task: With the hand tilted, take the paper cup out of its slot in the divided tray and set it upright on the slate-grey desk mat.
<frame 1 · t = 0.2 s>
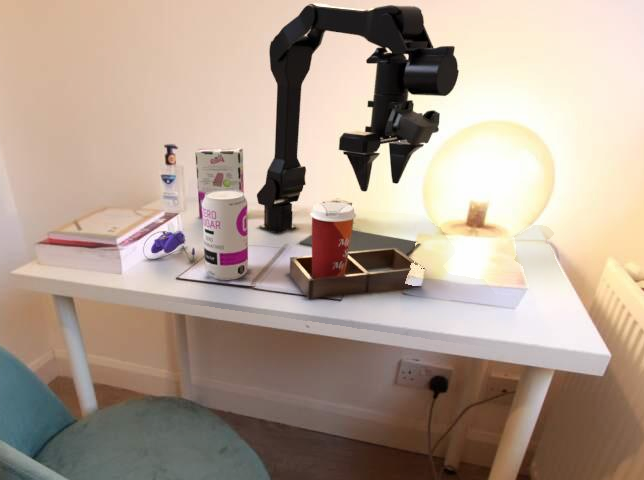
hand: (380, 187, 92), 15 cm above the table, tool pointing down, fingers open, 9 cm apart
paper cup: (327, 284, 90), resting in divided tray
supplement can: (226, 273, 95), on the table
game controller: (175, 257, 103), on the table
desk mat: (359, 243, 108), on the table
candy bar box: (221, 217, 128), on the table
dice cube: (335, 223, 122), on the table
divided tray: (353, 280, 91), on the table
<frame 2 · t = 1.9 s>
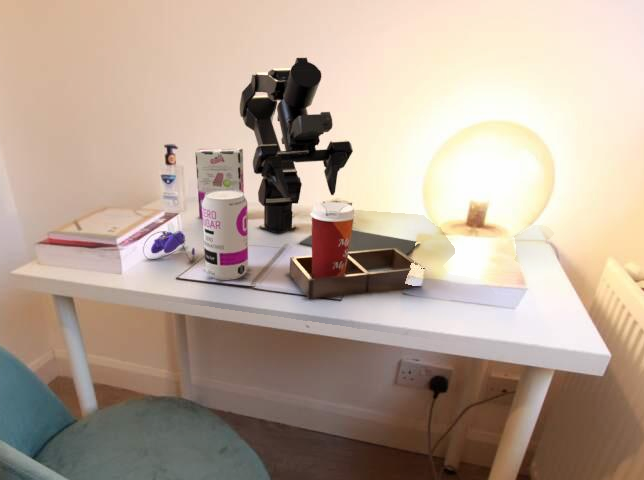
hand: (310, 195, 94), 13 cm above the table, tool tilted 45°, fingers open, 9 cm apart
nothing on the table moved.
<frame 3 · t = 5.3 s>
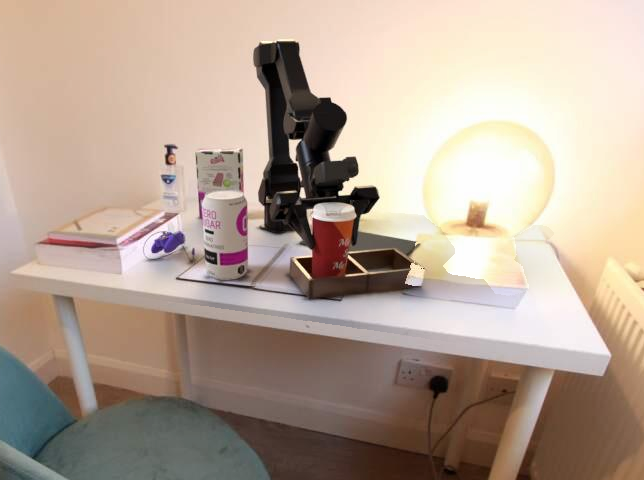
hand: (333, 246, 85), 7 cm above the table, tool tilted 45°, fingers closed on paper cup, 7 cm apart
paper cup: (327, 284, 90), resting in divided tray, touching gripper
everything else where it was.
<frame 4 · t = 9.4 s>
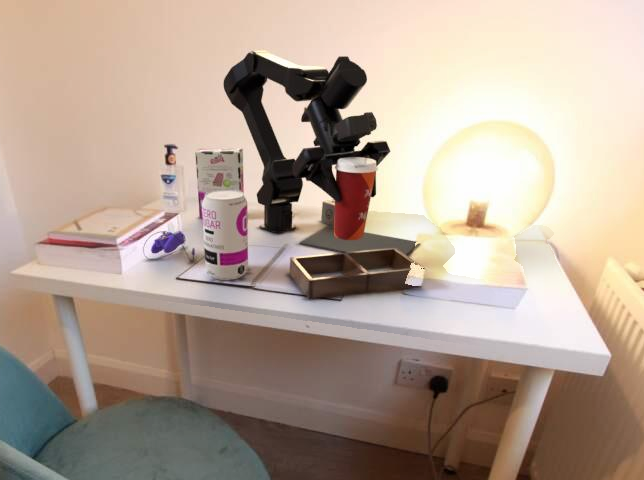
hand: (357, 198, 91), 13 cm above the table, tool tilted 45°, fingers closed on paper cup, 7 cm apart
paper cup: (348, 236, 96), point 5 cm above the table, touching gripper
everything else where it was.
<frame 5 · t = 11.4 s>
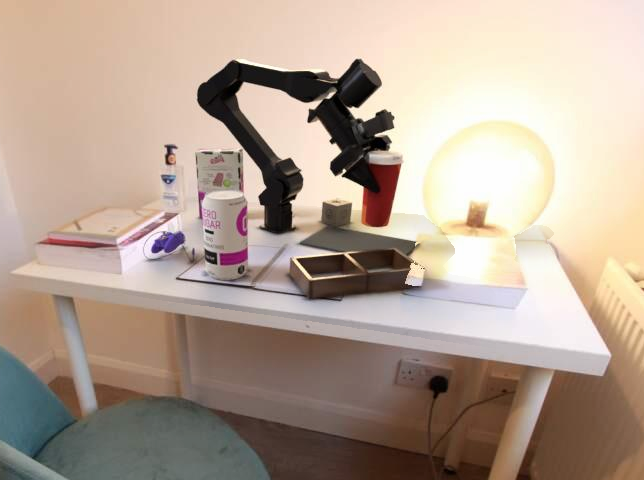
hand: (386, 188, 100), 13 cm above the table, tool tilted 45°, fingers closed on paper cup, 7 cm apart
paper cup: (374, 224, 104), point 5 cm above the table, touching gripper
everything else where it was.
when the fingers open (8 cm above the table, at t = 13.4 s): paper cup stays where it is, resting on desk mat.
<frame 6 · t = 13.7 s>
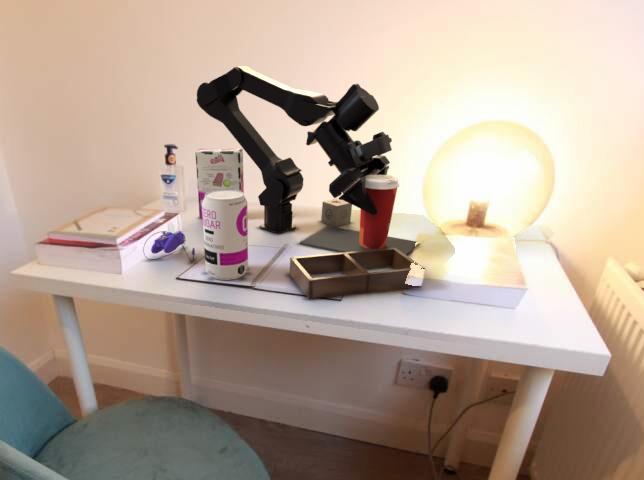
hand: (384, 208, 102), 8 cm above the table, tool tilted 45°, fingers open, 9 cm apart
paper cup: (371, 245, 107), resting on desk mat
everything else where it was.
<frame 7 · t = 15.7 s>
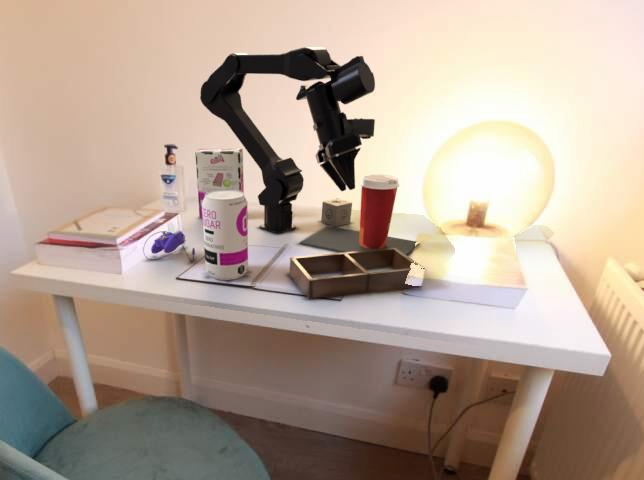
hand: (348, 190, 103), 11 cm above the table, tool tilted 25°, fingers open, 9 cm apart
nothing on the table moved.
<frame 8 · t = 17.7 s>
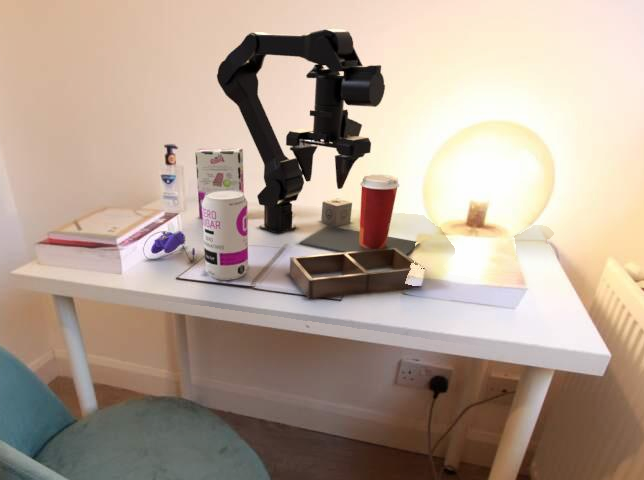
hand: (323, 184, 106), 12 cm above the table, tool pointing down, fingers open, 9 cm apart
nothing on the table moved.
at the end: paper cup inside the target area on the desk mat (1.8 cm from its centre), point 0.2 cm above the desk mat's base; paper cup tilted 0°; paper cup moved 23.0 cm from its start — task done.
